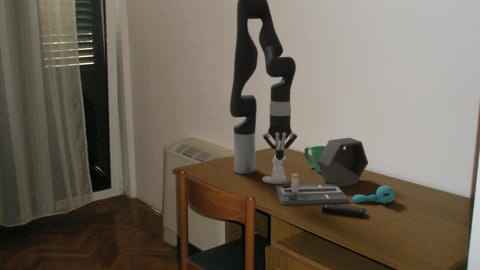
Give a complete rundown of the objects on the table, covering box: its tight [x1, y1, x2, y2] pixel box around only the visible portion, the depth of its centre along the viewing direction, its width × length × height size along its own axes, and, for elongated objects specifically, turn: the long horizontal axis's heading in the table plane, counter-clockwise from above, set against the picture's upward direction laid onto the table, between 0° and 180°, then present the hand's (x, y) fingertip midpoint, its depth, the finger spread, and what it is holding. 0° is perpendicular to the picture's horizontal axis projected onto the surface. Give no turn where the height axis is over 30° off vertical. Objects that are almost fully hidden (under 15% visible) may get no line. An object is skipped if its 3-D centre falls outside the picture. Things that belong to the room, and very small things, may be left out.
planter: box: [317, 137, 369, 188], centre depth 201 cm, size 17×8×21 cm
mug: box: [304, 145, 326, 174], centre depth 219 cm, size 15×10×10 cm
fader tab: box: [291, 172, 300, 192], centre depth 187 cm, size 3×2×6 cm
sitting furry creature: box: [262, 154, 287, 185], centre depth 203 cm, size 10×9×12 cm
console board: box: [275, 180, 349, 206], centre depth 188 cm, size 16×24×4 cm, turn 95°
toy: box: [351, 184, 396, 205], centre depth 181 cm, size 12×6×15 cm
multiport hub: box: [321, 203, 367, 219], centre depth 172 cm, size 4×14×2 cm, turn 69°
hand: (279, 159), depth 184 cm, fingers closed
